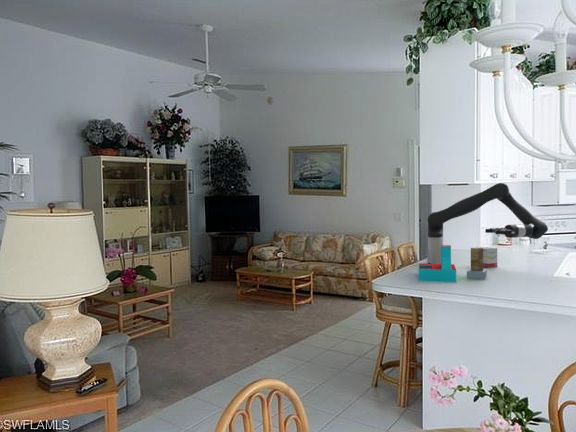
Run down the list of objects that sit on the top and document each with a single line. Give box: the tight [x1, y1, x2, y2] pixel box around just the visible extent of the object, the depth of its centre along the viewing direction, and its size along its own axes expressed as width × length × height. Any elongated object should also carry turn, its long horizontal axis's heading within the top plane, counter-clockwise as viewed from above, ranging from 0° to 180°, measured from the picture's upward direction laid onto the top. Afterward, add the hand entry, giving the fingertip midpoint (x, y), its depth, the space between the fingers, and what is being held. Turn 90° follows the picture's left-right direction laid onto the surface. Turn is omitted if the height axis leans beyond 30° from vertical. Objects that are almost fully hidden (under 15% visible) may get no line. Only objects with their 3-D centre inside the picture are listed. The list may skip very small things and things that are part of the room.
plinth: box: [466, 268, 488, 281], centre depth 256 cm, size 9×9×4 cm
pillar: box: [470, 247, 484, 271], centre depth 256 cm, size 4×4×12 cm
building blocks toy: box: [418, 244, 457, 283], centre depth 260 cm, size 19×25×18 cm
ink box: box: [479, 246, 498, 268], centre depth 291 cm, size 9×9×12 cm
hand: (490, 231), depth 267 cm, fingers open, 8 cm apart
